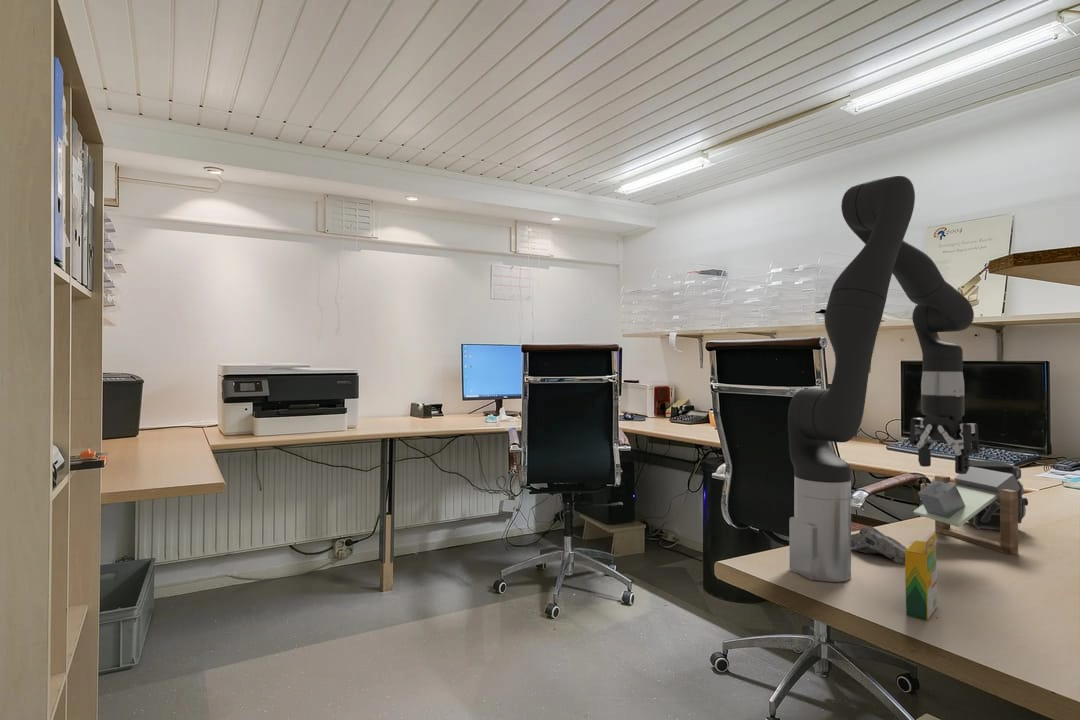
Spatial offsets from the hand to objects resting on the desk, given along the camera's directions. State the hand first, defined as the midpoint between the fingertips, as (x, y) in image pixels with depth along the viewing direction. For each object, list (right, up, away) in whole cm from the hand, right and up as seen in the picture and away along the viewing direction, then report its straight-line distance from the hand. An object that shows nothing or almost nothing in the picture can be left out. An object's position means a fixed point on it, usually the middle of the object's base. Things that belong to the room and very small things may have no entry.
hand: (942, 469), depth 122 cm
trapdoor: (+7, -8, +1) cm, 10 cm away
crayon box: (-27, -15, -33) cm, 45 cm away
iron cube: (+1, -8, 0) cm, 8 cm away
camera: (+21, -16, +13) cm, 29 cm away
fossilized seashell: (-17, -16, -7) cm, 25 cm away
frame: (+8, -16, +2) cm, 18 cm away
